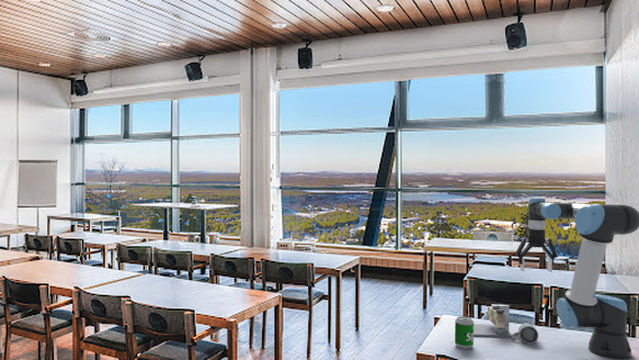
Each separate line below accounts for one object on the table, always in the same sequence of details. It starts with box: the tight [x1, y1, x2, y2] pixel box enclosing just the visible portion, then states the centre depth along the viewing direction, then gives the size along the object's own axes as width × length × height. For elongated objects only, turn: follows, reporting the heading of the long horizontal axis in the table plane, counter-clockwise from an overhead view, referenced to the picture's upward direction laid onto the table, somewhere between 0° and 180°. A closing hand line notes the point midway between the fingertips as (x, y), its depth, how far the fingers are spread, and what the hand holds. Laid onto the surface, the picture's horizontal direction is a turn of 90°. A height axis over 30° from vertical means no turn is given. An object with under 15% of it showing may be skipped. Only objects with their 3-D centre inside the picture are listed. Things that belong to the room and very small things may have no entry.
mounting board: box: [474, 323, 513, 339], centre depth 211 cm, size 15×18×4 cm
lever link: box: [487, 305, 505, 328], centre depth 211 cm, size 14×4×8 cm, turn 179°
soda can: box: [454, 316, 475, 350], centre depth 191 cm, size 8×8×12 cm
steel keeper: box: [490, 304, 510, 332], centre depth 209 cm, size 2×8×13 cm, turn 88°
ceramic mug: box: [511, 322, 539, 345], centre depth 200 cm, size 11×8×8 cm
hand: (536, 271), depth 222 cm, fingers open, 13 cm apart
